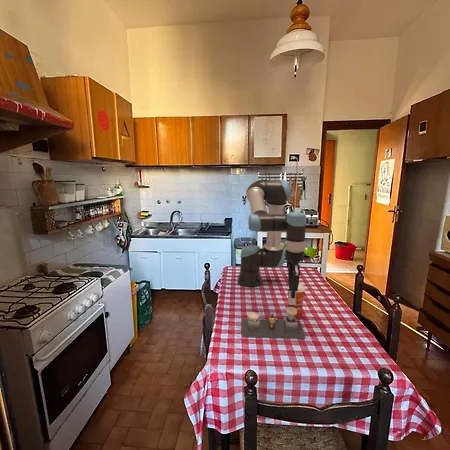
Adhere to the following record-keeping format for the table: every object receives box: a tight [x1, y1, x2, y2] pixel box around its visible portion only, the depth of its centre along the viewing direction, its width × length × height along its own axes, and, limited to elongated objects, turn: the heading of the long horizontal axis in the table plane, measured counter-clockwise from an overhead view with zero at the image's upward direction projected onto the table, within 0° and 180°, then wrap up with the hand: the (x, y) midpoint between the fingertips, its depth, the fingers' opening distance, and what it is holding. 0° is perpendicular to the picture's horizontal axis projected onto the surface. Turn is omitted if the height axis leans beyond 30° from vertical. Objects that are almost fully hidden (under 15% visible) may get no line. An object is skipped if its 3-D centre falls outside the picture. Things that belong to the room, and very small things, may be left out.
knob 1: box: [247, 311, 260, 321], centre depth 115 cm, size 5×5×5 cm
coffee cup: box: [287, 283, 306, 319], centre depth 128 cm, size 8×8×15 cm
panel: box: [241, 316, 306, 340], centre depth 115 cm, size 11×26×5 cm, turn 88°
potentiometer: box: [268, 313, 276, 328], centre depth 115 cm, size 3×3×6 cm
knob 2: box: [285, 306, 297, 321], centre depth 114 cm, size 5×5×5 cm
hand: (291, 304), depth 113 cm, fingers closed
